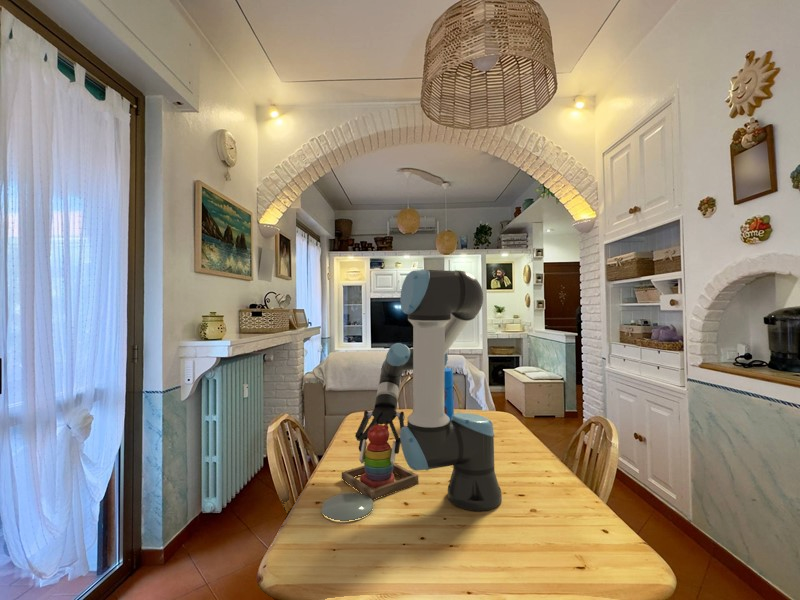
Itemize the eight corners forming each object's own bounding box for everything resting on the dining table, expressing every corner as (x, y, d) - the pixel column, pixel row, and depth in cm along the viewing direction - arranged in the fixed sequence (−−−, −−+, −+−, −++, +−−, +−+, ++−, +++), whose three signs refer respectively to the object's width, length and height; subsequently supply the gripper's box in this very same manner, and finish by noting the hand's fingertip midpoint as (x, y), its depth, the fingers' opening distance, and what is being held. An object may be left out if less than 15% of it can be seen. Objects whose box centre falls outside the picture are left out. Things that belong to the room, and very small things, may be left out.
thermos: (455, 425, 179) (453, 371, 179) (432, 425, 179) (431, 371, 180) (452, 418, 189) (451, 368, 190) (430, 419, 190) (429, 368, 190)
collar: (418, 483, 119) (418, 475, 119) (371, 501, 108) (371, 492, 109) (386, 466, 133) (385, 458, 133) (341, 480, 122) (341, 472, 122)
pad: (383, 510, 103) (383, 506, 103) (337, 529, 95) (336, 524, 95) (356, 491, 114) (356, 488, 114) (312, 506, 106) (312, 503, 106)
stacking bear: (389, 472, 127) (388, 418, 128) (400, 485, 118) (399, 427, 118) (358, 478, 123) (357, 422, 124) (367, 492, 114) (366, 431, 115)
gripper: (418, 405, 134) (413, 469, 118) (359, 403, 138) (345, 465, 122) (416, 393, 129) (410, 458, 113) (354, 392, 133) (339, 455, 117)
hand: (376, 462), depth 118 cm, fingers closed on stacking bear, 9 cm apart
